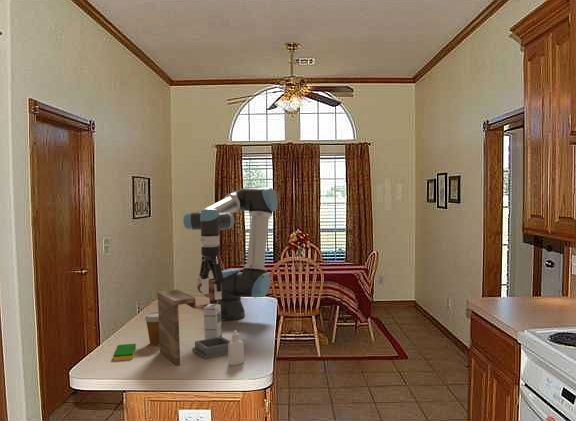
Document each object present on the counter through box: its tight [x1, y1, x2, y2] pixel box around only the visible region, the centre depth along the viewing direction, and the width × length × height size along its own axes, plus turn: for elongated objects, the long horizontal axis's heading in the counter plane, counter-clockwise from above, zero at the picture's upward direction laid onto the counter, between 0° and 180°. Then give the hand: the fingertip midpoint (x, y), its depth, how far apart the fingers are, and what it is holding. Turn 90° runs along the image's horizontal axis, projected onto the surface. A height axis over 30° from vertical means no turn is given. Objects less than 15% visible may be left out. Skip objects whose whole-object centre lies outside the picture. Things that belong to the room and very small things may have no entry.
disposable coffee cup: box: [144, 311, 160, 346], centre depth 219 cm, size 10×10×12 cm
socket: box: [191, 336, 231, 359], centre depth 207 cm, size 13×13×4 cm
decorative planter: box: [197, 277, 217, 304], centre depth 291 cm, size 20×12×14 cm, turn 90°
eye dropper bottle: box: [227, 330, 245, 366], centre depth 192 cm, size 4×6×12 cm
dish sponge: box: [113, 343, 137, 361], centre depth 206 cm, size 7×14×2 cm, turn 11°
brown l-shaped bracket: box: [156, 289, 197, 366], centre depth 201 cm, size 8×20×24 cm, turn 31°
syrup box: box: [203, 303, 223, 340], centre depth 222 cm, size 6×6×14 cm
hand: (211, 296), depth 222 cm, fingers open, 13 cm apart
